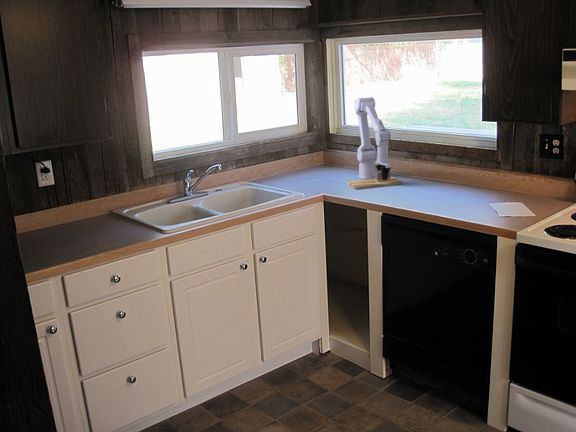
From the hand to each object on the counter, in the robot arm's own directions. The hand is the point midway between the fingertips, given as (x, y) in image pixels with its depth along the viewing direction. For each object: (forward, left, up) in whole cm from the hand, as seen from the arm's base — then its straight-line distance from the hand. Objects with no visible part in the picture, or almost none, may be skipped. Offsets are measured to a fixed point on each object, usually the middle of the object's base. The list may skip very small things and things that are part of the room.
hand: (383, 178), depth 334 cm
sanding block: (0, -1, -1) cm, 1 cm away
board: (0, -5, -2) cm, 6 cm away
